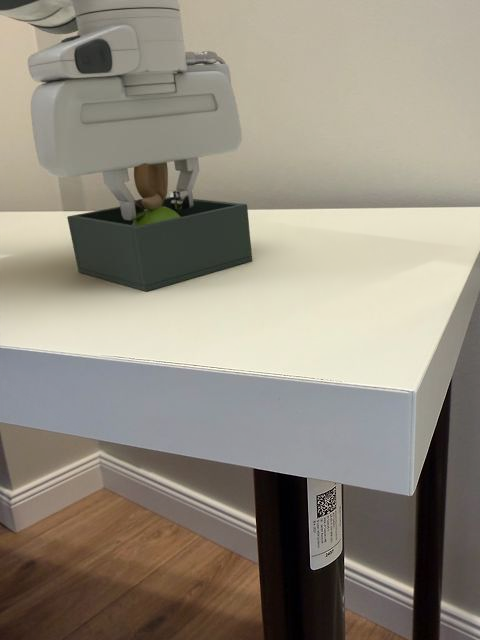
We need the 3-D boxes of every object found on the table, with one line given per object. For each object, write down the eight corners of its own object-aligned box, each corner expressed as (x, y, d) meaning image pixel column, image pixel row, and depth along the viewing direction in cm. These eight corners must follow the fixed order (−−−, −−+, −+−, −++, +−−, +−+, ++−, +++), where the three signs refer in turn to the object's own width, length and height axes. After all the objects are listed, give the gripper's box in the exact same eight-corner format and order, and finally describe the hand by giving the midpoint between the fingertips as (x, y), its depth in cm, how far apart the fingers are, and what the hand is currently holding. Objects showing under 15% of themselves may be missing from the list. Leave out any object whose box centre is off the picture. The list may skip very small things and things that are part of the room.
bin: (78, 272, 65) (66, 216, 63) (179, 247, 73) (172, 196, 71) (146, 291, 57) (135, 228, 55) (252, 260, 65) (247, 204, 62)
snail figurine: (201, 252, 67) (186, 127, 62) (179, 269, 61) (160, 133, 56) (152, 253, 68) (133, 130, 63) (126, 270, 63) (103, 137, 58)
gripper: (206, 53, 66) (222, 194, 72) (7, 60, 53) (46, 230, 59) (247, 47, 62) (260, 198, 67) (41, 52, 49) (79, 237, 55)
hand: (159, 213), depth 63 cm, fingers closed on snail figurine, 4 cm apart
